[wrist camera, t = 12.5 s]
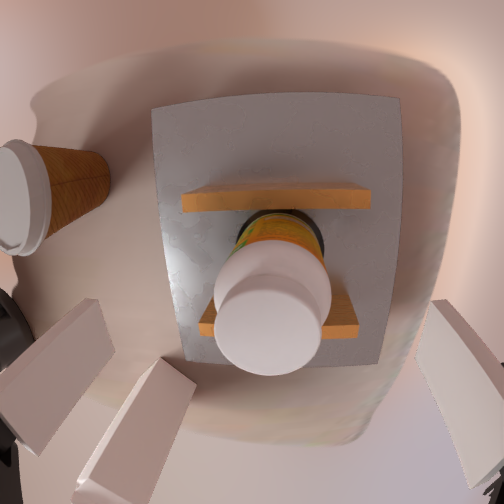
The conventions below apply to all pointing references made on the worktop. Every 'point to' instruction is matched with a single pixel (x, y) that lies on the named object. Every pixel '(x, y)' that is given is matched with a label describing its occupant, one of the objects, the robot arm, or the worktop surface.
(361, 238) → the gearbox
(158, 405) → the milk
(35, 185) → the disposable coffee cup
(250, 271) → the supplement bottle
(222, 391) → the worktop surface
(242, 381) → the worktop surface
